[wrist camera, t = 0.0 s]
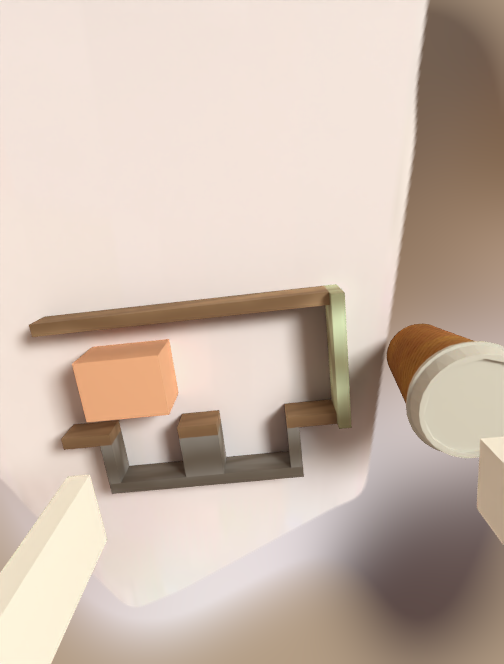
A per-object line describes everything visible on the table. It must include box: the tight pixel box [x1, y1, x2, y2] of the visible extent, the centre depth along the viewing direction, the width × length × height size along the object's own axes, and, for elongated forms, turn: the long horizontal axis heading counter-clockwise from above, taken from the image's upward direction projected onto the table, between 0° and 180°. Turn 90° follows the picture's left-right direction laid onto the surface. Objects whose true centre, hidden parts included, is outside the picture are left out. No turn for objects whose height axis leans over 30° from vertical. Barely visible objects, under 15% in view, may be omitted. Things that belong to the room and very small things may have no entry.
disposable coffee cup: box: [387, 324, 504, 458], centre depth 36 cm, size 10×10×12 cm
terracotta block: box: [72, 339, 178, 422], centre depth 41 cm, size 6×8×5 cm
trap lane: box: [29, 285, 352, 494], centre depth 42 cm, size 19×29×4 cm, turn 96°
